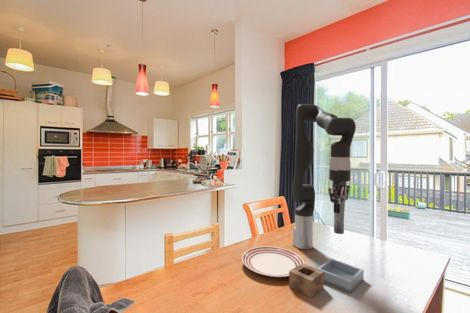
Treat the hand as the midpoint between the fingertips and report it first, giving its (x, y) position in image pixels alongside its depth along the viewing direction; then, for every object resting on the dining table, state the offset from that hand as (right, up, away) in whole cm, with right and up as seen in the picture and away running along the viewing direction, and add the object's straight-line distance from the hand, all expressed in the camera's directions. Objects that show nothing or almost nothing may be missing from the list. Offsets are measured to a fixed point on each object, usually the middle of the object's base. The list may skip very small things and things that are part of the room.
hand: (339, 211), depth 92 cm
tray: (+1, -27, +1) cm, 27 cm away
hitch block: (-15, -27, -5) cm, 31 cm away
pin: (0, -8, 0) cm, 8 cm away
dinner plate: (-24, -27, +12) cm, 38 cm away
